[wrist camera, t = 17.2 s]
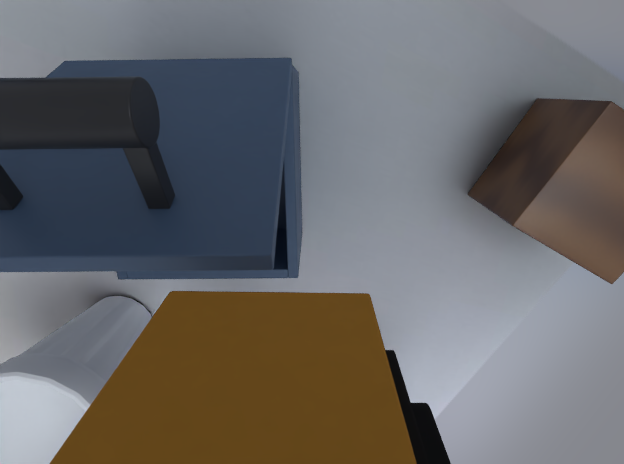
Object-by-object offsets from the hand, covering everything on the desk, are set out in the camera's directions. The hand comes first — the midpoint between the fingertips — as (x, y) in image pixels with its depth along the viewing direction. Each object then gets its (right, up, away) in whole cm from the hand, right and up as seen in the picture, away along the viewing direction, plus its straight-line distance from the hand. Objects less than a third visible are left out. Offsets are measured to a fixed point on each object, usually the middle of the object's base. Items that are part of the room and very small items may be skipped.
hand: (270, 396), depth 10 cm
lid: (-6, +8, +6) cm, 12 cm away
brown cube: (+21, +9, +22) cm, 31 cm away
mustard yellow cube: (0, 0, 0) cm, 0 cm away
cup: (-17, -4, +27) cm, 33 cm away
